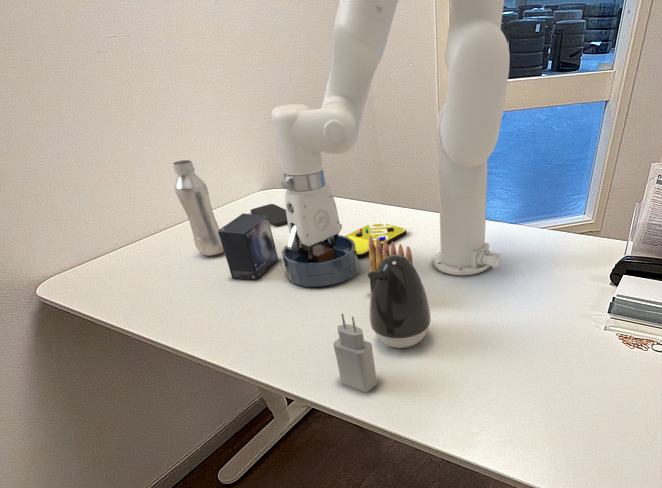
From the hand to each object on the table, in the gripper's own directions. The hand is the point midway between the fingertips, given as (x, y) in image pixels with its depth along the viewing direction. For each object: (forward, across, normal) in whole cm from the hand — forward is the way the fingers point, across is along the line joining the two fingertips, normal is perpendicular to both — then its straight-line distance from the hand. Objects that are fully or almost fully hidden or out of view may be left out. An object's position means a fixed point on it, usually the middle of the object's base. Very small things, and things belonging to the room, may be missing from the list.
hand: (321, 268), depth 104 cm
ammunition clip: (+1, -1, -21) cm, 21 cm away
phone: (+1, +17, +37) cm, 41 cm away
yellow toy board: (+1, +18, +3) cm, 18 cm away
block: (0, 0, 0) cm, 0 cm away
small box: (+1, -7, +14) cm, 15 cm away
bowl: (+1, 0, 0) cm, 1 cm away
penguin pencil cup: (+1, -11, -31) cm, 33 cm away
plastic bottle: (+1, -7, +30) cm, 31 cm away
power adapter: (+1, -24, -33) cm, 41 cm away
